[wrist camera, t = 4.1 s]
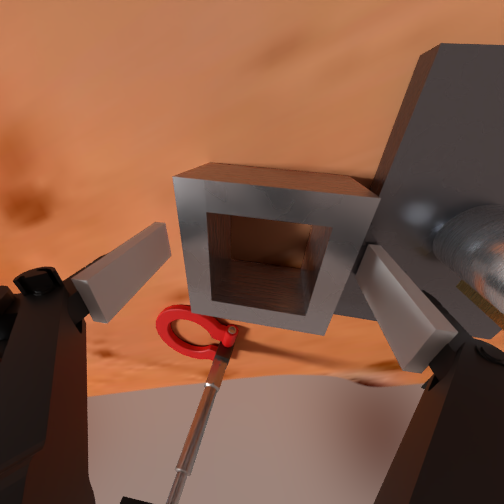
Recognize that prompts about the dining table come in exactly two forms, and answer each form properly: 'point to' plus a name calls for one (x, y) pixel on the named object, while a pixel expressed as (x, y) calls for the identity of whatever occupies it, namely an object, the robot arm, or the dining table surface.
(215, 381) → the tow hook
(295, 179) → the collar
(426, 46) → the dining table surface
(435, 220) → the shaft stand
